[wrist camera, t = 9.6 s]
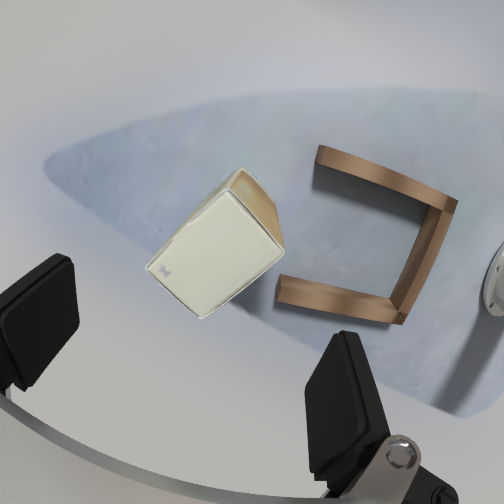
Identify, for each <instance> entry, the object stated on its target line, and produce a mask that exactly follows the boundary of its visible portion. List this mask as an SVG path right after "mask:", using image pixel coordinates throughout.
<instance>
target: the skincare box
mask: <svg viewBox="0 0 504 504" xmlns="http://www.w3.org/2000/svg"><path fill="white" fill-rule="evenodd" d="M285 254H286V252H285V247H284V243H283V238H282V233H281V229H280V224H279V219H278V215H277V211H276V206H275V202H274V200H273V199H272V197H271V196H270V195H269V194H268V192H267V191H266V190H265V189H264V188H263V187H262V186H261V184H260V183H259V182H258V181H257V180H256V179H255V178H254V177H253V175H252V174H251V173H250V172H249V171H248V170H247V169H246V168H245V167H240V168H239V169H238V170H236V171H235V172H234V173H233V174H232V175H230V176H229V177H228V178H227V179H226V180H225V181H224V182H223V183H222V184H220V185H219V186H218V187H217V188H216V189H215V190H214V191H213V192H212V193H211V194H210V195H209V196H208V197H207V198H206V199H205V200H204V201H203V202H202V203H201V204H200V205H199V206H198V207H197V208H196V209H195V210H194V211H193V212H192V214H191V215H190V216H189V217H188V218H187V219H186V220H185V221H184V222H183V224H182V225H181V226H180V227H179V228H178V229H177V230H176V231H175V232H174V234H173V235H172V236H171V237H170V238H169V239H168V240H167V241H166V243H165V244H164V245H163V246H162V247H161V248H160V250H159V251H158V252H157V253H156V254H155V255H154V257H153V258H152V259H151V260H150V262H149V263H148V264H147V265H146V267H145V270H146V271H147V272H148V273H149V274H150V275H151V276H152V277H153V278H154V279H155V280H156V281H157V282H158V283H159V284H160V285H161V286H163V287H164V289H166V290H167V291H168V292H169V293H170V294H171V295H172V296H173V297H174V298H175V299H176V300H177V301H179V302H180V303H181V304H182V305H183V306H184V307H185V308H186V309H188V310H189V311H190V312H192V313H193V314H194V315H195V316H196V317H197V318H199V319H204V318H205V317H207V316H208V315H210V314H211V313H213V312H214V311H216V310H217V309H218V308H220V307H221V306H223V305H224V304H225V303H227V302H228V301H229V300H231V299H232V298H233V297H235V296H236V295H237V294H238V293H240V292H241V291H242V290H243V289H245V288H246V287H247V286H248V285H250V284H251V283H252V282H253V281H255V280H256V279H257V278H258V277H259V276H261V275H262V274H263V273H264V272H265V271H267V270H268V269H269V268H270V267H271V266H272V265H274V264H275V263H276V262H277V261H278V260H279V259H281V258H282V257H283V256H284V255H285Z"/></svg>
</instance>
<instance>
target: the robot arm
mask: <svg viewBox="0 0 504 504" xmlns="http://www.w3.org/2000/svg"><path fill="white" fill-rule="evenodd" d="M483 301H484V306H485V308H486V309H487V310H488V312H489V313H490V314H492V315H493V316H496V317H499V316H504V244H503V245H502V246H501V248H500V249H499V250H498V252H497V254H496V255H495V257H494V259H493V261H492V263H491V265H490V267H489V270H488V273H487V276H486V279H485V283H484V289H483ZM79 323H80V320H79V312H78V304H77V295H76V285H75V272H74V264H73V263H72V261H71V259H70V258H69V257H67V256H64V255H62V254H59V253H56V254H54V255H52V256H51V257H50V258H48V259H47V260H45V261H44V262H43V263H41V264H40V265H38V266H37V267H35V268H34V269H33V270H31V271H30V272H29V273H27V274H26V275H25V276H23V277H22V278H21V279H19V280H18V281H17V282H15V283H14V284H13V285H12V286H10V287H9V288H8V289H6V290H5V291H4V292H3V293H2V294H0V504H459V499H458V495H457V493H456V491H455V489H454V488H453V487H452V486H450V485H449V484H447V483H446V482H444V481H443V480H441V479H439V478H438V477H437V476H435V475H434V474H432V473H430V472H429V471H428V470H426V469H424V468H423V467H422V466H420V462H421V453H420V451H419V448H418V446H417V445H416V443H415V442H414V441H412V440H411V439H410V438H408V437H406V436H403V435H392V436H391V434H390V431H389V427H388V424H387V420H386V417H385V413H384V410H383V406H382V403H381V400H380V397H379V393H378V390H377V387H376V384H375V381H374V378H373V375H372V372H371V369H370V366H369V363H368V360H367V357H366V354H365V351H364V349H363V346H362V343H361V340H360V337H359V335H358V333H355V332H349V331H344V330H342V331H340V332H339V333H338V334H337V333H336V334H334V335H333V337H332V339H331V341H330V342H329V344H328V346H327V348H326V350H325V352H324V354H323V356H322V357H321V359H320V361H319V363H318V365H317V367H316V368H315V370H314V372H313V374H312V376H311V377H310V379H309V381H308V382H307V384H306V387H305V405H306V418H307V419H306V420H307V434H308V451H309V469H310V472H311V473H314V481H327V488H328V489H327V491H325V493H324V494H323V495H322V496H321V497H320V498H293V497H278V496H267V495H256V494H248V493H240V492H234V491H227V490H222V489H216V488H211V487H206V486H202V485H197V484H193V483H189V482H185V481H181V480H177V479H173V478H170V477H167V476H163V475H160V474H157V473H153V472H150V471H147V470H144V469H142V468H138V467H136V466H133V465H130V464H128V463H125V462H123V461H120V460H117V459H115V458H113V457H110V456H108V455H106V454H103V453H101V452H99V451H97V450H94V449H92V448H90V447H88V446H86V445H84V444H82V443H80V442H78V441H76V440H74V439H72V438H70V437H68V436H66V435H64V434H63V433H61V432H59V431H57V430H55V429H54V428H52V427H50V426H49V425H47V424H45V423H44V422H42V421H40V420H39V419H37V418H36V417H34V416H32V415H31V414H29V413H28V412H26V411H25V410H23V409H22V408H20V407H19V406H18V405H16V404H15V403H13V402H12V401H11V392H10V385H11V384H12V383H14V385H15V386H16V387H18V388H19V389H21V390H22V391H24V392H25V391H26V390H27V388H28V387H31V386H33V385H34V383H35V382H36V381H37V379H38V378H39V377H40V375H41V374H42V373H43V371H44V370H45V369H46V368H47V366H48V365H49V364H50V362H51V361H52V360H53V359H54V357H55V356H56V355H57V353H58V352H59V351H60V350H61V349H62V347H63V346H64V345H65V343H66V342H67V341H68V340H69V339H70V338H71V336H72V335H73V334H74V333H75V332H76V330H77V329H78V327H79Z"/></svg>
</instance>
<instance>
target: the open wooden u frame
mask: <svg viewBox="0 0 504 504" xmlns="http://www.w3.org/2000/svg"><path fill="white" fill-rule="evenodd" d="M315 162H317V163H319V164H321V165H325V166H328V167H331V168H334V169H337V170H340V171H343V172H346V173H349V174H352V175H355V176H358V177H361V178H363V179H366V180H369V181H372V182H375V183H377V184H380V185H383V186H385V187H388V188H390V189H393V190H396V191H398V192H401V193H403V194H405V195H408V196H410V197H413V198H415V199H418V200H420V201H422V202H425V203H427V204H429V207H428V210H427V213H426V215H425V218H424V221H423V223H422V226H421V229H420V231H419V234H418V236H417V239H416V241H415V244H414V246H413V249H412V251H411V253H410V256H409V258H408V260H407V263H406V265H405V267H404V269H403V272H402V274H401V276H400V278H399V280H398V282H397V284H396V286H395V289H394V291H393V293H392V295H391V297H390V299H388V298H383V297H379V296H374V295H369V294H365V293H360V292H356V291H351V290H347V289H343V288H338V287H334V286H329V285H325V284H321V283H316V282H312V281H307V280H303V279H299V278H295V277H290V276H286V275H282V274H280V276H279V279H278V282H277V285H276V298H277V301H279V302H283V303H288V304H292V305H297V306H302V307H307V308H312V309H317V310H321V311H326V312H332V313H337V314H342V315H347V316H352V317H358V318H363V319H369V320H374V321H380V322H386V323H392V324H398V325H402V324H403V323H404V321H405V319H406V317H407V316H408V314H409V312H410V310H411V308H412V306H413V305H414V303H415V301H416V299H417V297H418V295H419V293H420V291H421V289H422V287H423V285H424V283H425V281H426V279H427V277H428V275H429V273H430V271H431V268H432V266H433V264H434V262H435V259H436V257H437V255H438V253H439V250H440V248H441V245H442V243H443V241H444V238H445V236H446V233H447V231H448V228H449V225H450V223H451V220H452V217H453V214H454V212H455V209H456V206H457V203H458V200H456V199H454V198H452V197H450V196H448V195H446V194H444V193H442V192H440V191H438V190H436V189H433V188H431V187H429V186H427V185H425V184H423V183H421V182H418V181H416V180H414V179H412V178H409V177H407V176H405V175H402V174H400V173H398V172H395V171H393V170H390V169H388V168H385V167H383V166H380V165H378V164H375V163H373V162H370V161H367V160H365V159H362V158H359V157H356V156H354V155H351V154H348V153H345V152H342V151H339V150H336V149H333V148H330V147H327V146H323V145H319V147H318V151H317V155H316V158H315Z"/></svg>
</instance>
